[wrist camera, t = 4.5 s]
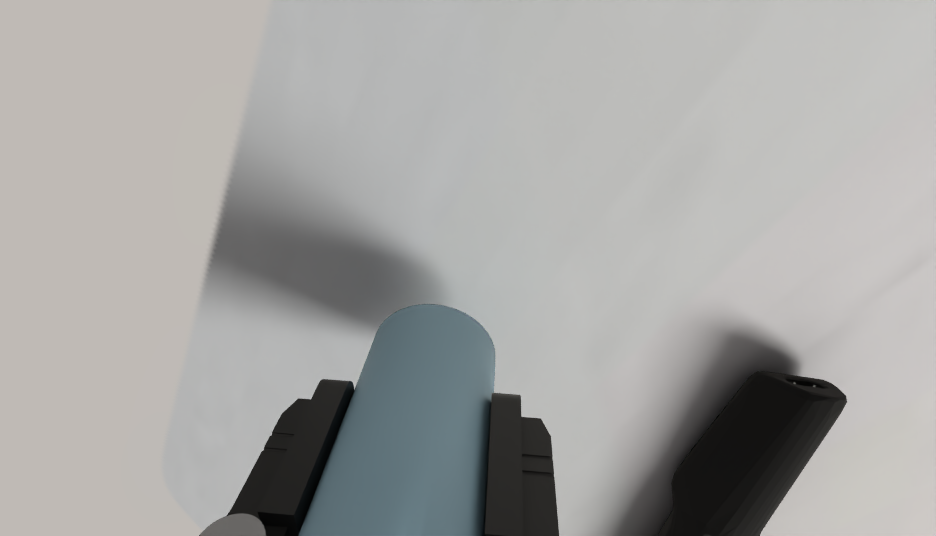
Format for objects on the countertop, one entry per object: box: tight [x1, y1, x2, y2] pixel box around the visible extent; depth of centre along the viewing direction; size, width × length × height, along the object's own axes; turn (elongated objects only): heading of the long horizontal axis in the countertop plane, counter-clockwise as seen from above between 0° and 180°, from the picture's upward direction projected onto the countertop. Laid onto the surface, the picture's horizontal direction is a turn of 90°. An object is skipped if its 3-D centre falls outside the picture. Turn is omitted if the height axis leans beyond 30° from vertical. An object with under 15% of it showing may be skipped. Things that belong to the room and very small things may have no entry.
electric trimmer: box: [658, 371, 847, 536], centre depth 19 cm, size 4×16×3 cm, turn 172°
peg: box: [298, 304, 495, 536], centre depth 10 cm, size 4×4×10 cm
